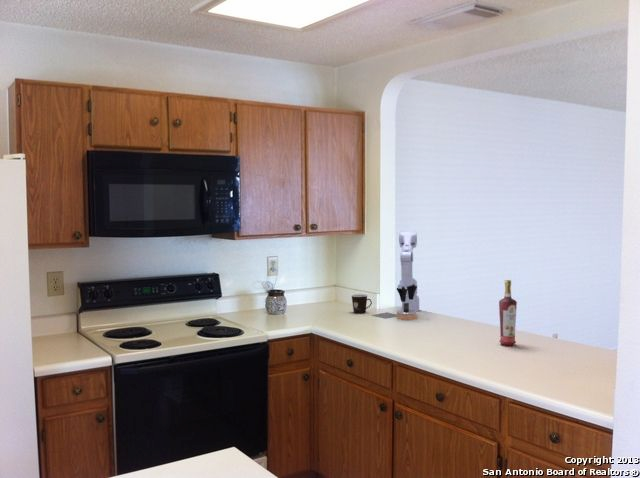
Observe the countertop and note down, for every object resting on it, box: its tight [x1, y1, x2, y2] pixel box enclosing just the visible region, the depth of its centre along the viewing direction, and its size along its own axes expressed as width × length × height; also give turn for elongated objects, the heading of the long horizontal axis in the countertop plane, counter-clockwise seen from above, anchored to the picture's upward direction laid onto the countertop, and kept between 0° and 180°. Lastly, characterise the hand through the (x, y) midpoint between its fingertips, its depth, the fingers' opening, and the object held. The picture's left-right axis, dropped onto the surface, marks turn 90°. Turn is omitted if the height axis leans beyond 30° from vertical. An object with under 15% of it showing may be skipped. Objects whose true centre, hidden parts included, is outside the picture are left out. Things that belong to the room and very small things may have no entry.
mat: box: [370, 311, 397, 320], centre depth 335 cm, size 12×12×1 cm
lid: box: [396, 303, 417, 315], centre depth 328 cm, size 10×10×5 cm
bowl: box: [396, 312, 418, 321], centre depth 327 cm, size 10×10×3 cm
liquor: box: [498, 279, 518, 347], centre depth 270 cm, size 7×7×28 cm
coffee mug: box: [351, 293, 373, 315], centre depth 343 cm, size 12×9×10 cm
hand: (407, 300), depth 327 cm, fingers open, 7 cm apart
